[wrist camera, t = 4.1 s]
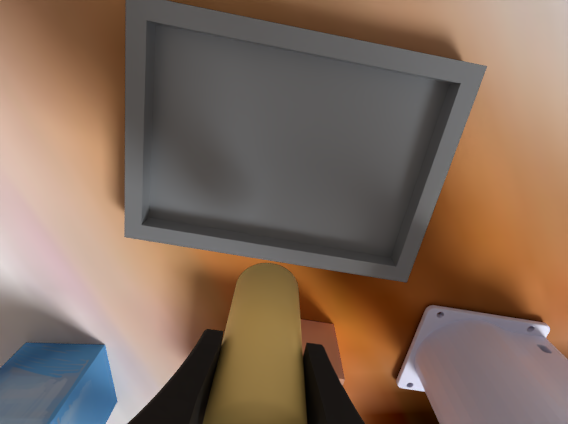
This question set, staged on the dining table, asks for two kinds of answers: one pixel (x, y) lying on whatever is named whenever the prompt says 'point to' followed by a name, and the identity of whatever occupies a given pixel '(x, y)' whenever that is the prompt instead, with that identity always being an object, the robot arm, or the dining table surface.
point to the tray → (285, 139)
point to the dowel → (261, 353)
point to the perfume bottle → (57, 385)
